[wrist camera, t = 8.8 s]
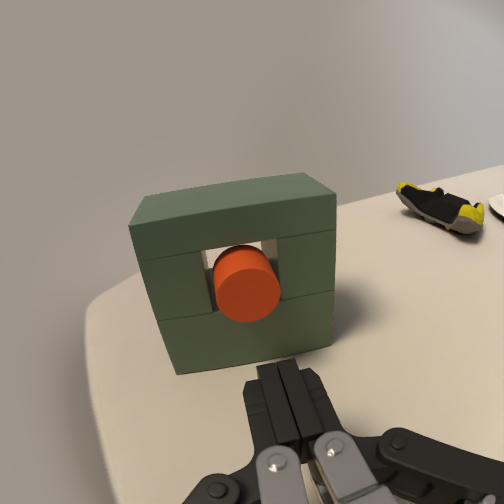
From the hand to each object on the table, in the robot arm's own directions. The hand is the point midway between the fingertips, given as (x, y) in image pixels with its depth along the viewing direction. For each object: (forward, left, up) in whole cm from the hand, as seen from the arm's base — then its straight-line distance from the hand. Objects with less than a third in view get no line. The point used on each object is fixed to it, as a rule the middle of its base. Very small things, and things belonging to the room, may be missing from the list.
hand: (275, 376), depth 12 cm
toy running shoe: (+15, +38, -8) cm, 41 cm away
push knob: (-4, +6, -2) cm, 8 cm away
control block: (-6, +10, -8) cm, 13 cm away
